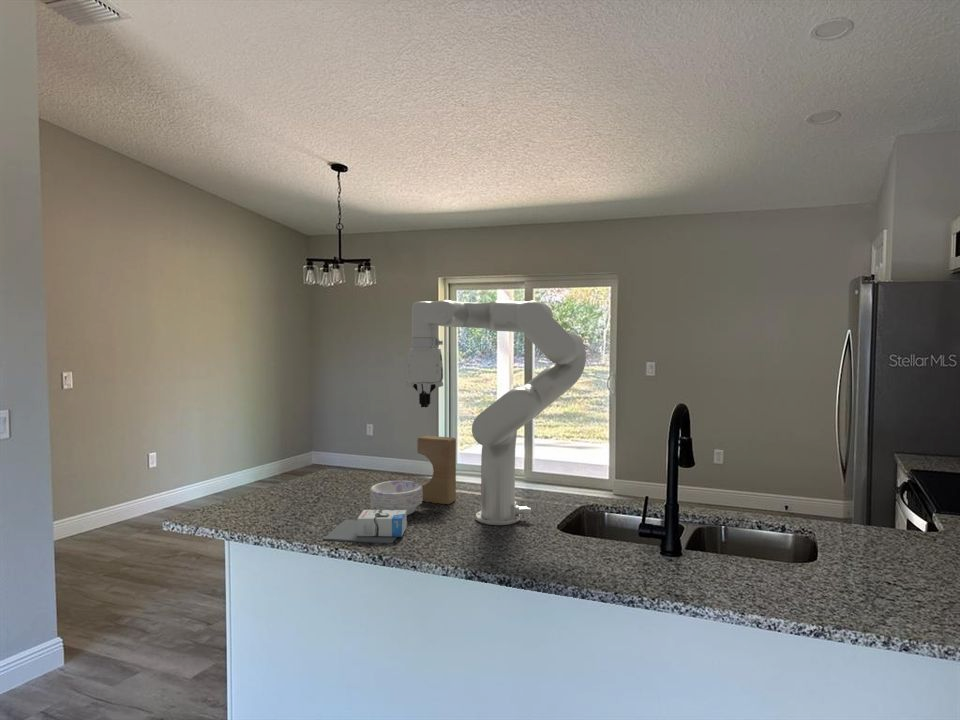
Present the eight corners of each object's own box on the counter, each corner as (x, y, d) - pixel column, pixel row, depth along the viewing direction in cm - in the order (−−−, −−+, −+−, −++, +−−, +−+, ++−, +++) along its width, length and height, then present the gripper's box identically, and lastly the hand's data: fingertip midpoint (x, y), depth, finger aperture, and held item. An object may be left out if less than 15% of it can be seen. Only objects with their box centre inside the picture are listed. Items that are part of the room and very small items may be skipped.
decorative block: (416, 501, 192) (416, 437, 191) (425, 496, 197) (425, 435, 196) (448, 505, 187) (448, 440, 186) (456, 500, 192) (456, 437, 191)
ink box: (402, 518, 156) (356, 518, 156) (402, 537, 156) (356, 537, 156) (406, 508, 164) (363, 508, 164) (406, 527, 164) (363, 526, 165)
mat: (408, 523, 168) (408, 522, 168) (392, 543, 153) (392, 541, 153) (345, 521, 171) (345, 519, 171) (323, 540, 155) (323, 538, 155)
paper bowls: (361, 518, 174) (361, 490, 173) (382, 504, 188) (382, 478, 188) (412, 522, 170) (412, 494, 170) (429, 507, 185) (429, 481, 184)
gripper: (452, 344, 181) (452, 405, 182) (403, 343, 183) (403, 404, 184) (447, 344, 173) (447, 408, 174) (396, 344, 175) (396, 407, 176)
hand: (424, 406), depth 179 cm, fingers closed
